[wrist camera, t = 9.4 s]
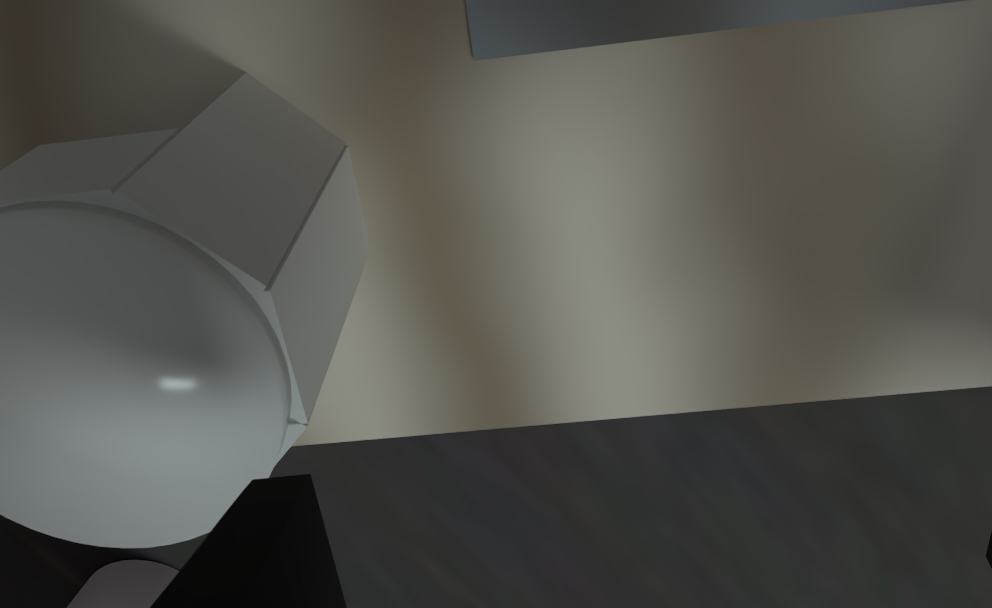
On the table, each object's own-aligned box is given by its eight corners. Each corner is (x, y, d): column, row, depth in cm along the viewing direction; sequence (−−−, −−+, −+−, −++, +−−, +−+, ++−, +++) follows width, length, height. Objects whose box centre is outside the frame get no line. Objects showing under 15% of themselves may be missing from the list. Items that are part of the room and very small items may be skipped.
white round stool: (329, 60, 16) (222, 192, 11) (385, 318, 19) (324, 536, 13) (45, 95, 17) (-206, 239, 11) (139, 343, 19) (-24, 563, 14)
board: (1176, -884, 11) (1241, -953, 10) (975, 361, 20) (998, 389, 19) (-382, -569, 13) (-456, -601, 12) (74, 441, 22) (52, 470, 21)
